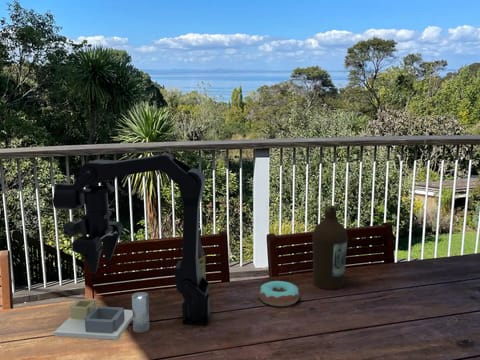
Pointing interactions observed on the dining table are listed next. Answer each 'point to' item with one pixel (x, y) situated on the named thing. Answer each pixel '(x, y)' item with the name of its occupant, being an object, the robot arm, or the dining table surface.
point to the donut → (279, 293)
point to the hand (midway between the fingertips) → (101, 267)
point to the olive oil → (329, 251)
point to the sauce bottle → (201, 254)
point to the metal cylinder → (140, 312)
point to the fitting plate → (94, 321)
